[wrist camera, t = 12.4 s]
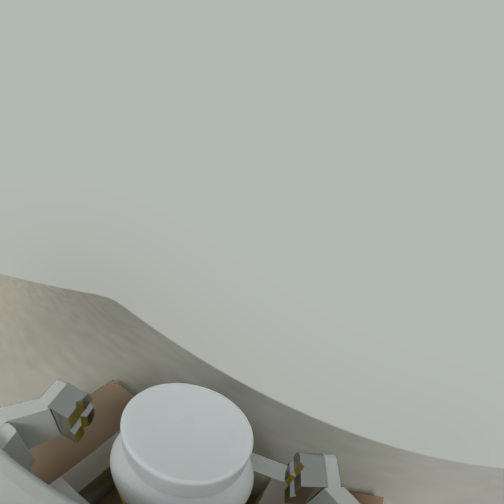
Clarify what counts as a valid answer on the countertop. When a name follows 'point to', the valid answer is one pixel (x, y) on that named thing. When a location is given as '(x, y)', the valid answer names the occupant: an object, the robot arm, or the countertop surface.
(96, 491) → the jig board
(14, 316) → the countertop surface
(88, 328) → the countertop surface
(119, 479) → the supplement bottle
